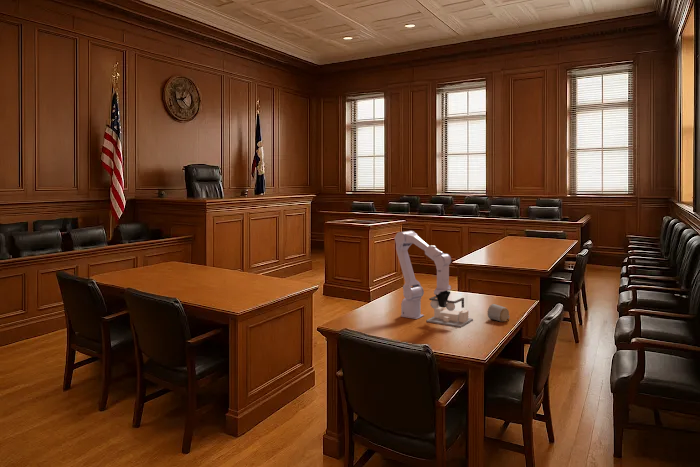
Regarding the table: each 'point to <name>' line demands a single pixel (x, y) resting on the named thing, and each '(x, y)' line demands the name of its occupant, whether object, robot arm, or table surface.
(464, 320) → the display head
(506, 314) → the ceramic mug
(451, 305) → the glasses
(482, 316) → the table surface
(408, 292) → the robot arm
